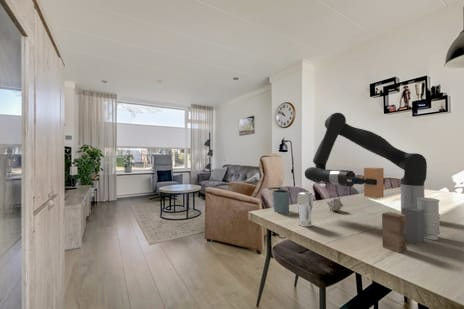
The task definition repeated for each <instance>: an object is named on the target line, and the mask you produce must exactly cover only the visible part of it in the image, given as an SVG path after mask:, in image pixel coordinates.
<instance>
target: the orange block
mask: <svg viewBox="0 0 464 309" xmlns="http://www.w3.org/2000/svg"><path fill="white" fill-rule="evenodd" d="M363 176H364V178H367V179H376V180H377V185H371V184H363V193H364V194H363V196H364V197H367V198H373V199H379V198H380V199H381V198H384V194H385V193H384V191H385V190H384V185H385V184H383V179H385V178H384V168H383V167H364V168H363Z"/></svg>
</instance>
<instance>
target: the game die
mask: <svg viewBox="0 0 464 309" xmlns="http://www.w3.org/2000/svg"><path fill="white" fill-rule="evenodd" d="M327 205H328V207H329V212H331V211H336V212H339V213H340V212H341V211H340V210H341V209H342V207H344V205H343V203H342V201H341V197H339V198H338V197H336V198H335V197H331V196H330V198H329V200H328V202H327Z"/></svg>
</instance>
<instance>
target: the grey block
mask: <svg viewBox="0 0 464 309" xmlns="http://www.w3.org/2000/svg"><path fill="white" fill-rule="evenodd" d="M402 214H403V215H406V242H410V243H413V244H416V245H420V244H421V243H425V238H424V210H423V209H417V208H412V207H406V208H402Z"/></svg>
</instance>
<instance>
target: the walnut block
mask: <svg viewBox="0 0 464 309" xmlns="http://www.w3.org/2000/svg"><path fill="white" fill-rule="evenodd" d="M381 217H382V218H381V219H382V220H381V222H382V224H381V225H382V226H381V227H382V228H381V233H382V235H381V236H382V237H381V238H382V244H381V245H382V248H384V249H386V250H389V251H392V252H396V253H399V254H400V253H402V252H404V251H406V250H407V241H406V215H403V214H401V213H398V212H393V211H387V212H382V214H381Z"/></svg>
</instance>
